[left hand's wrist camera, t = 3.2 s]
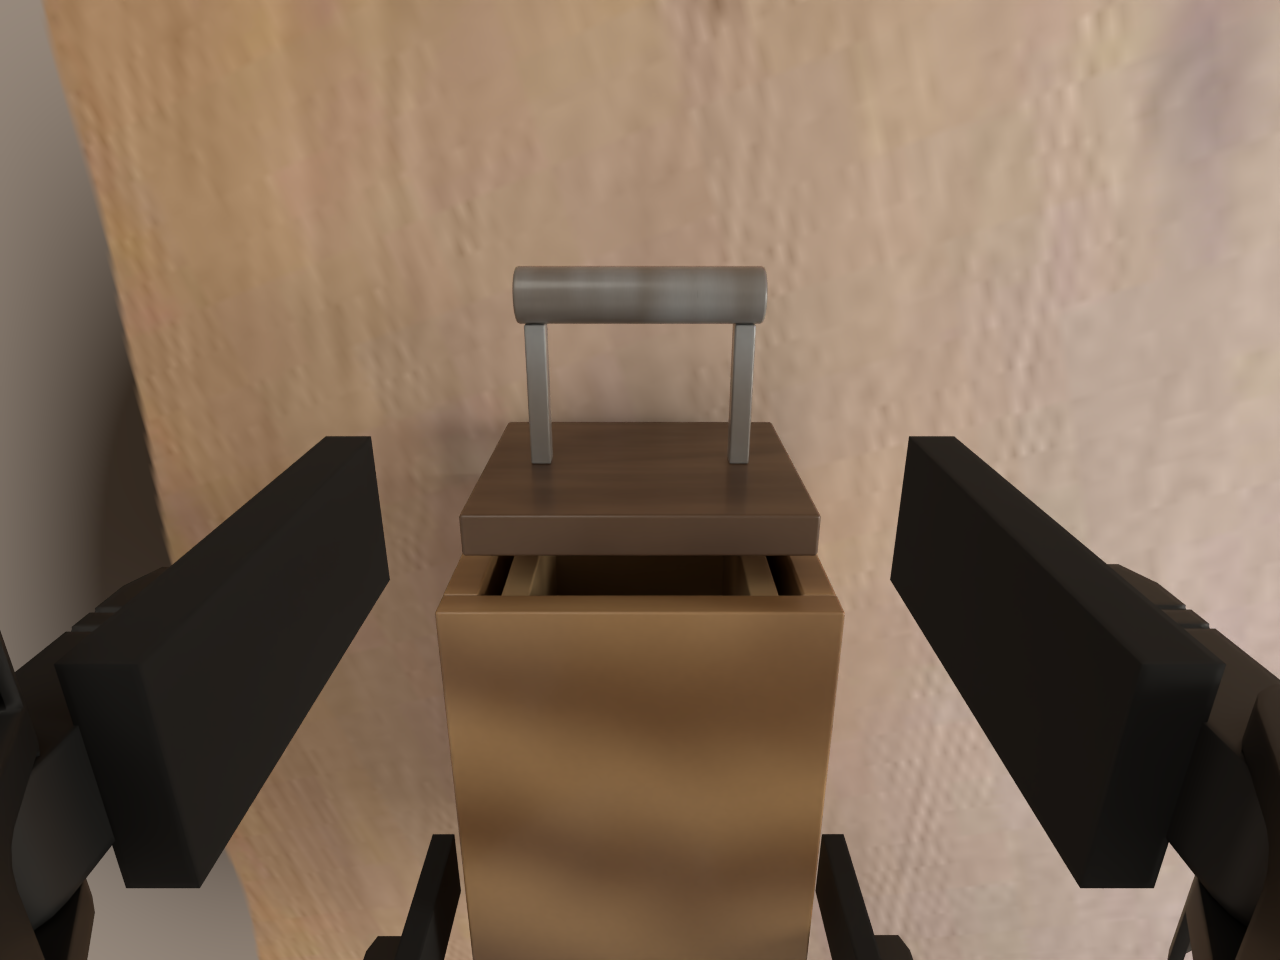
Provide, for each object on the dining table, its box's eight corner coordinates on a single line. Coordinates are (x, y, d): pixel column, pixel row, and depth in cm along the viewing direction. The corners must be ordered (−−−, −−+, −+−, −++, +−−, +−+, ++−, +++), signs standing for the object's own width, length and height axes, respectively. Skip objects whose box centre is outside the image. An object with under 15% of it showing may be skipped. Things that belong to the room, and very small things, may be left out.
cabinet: (500, 472, 30) (434, 612, 20) (779, 472, 30) (845, 612, 20) (523, 804, 35) (480, 1034, 26) (756, 804, 35) (799, 1034, 26)
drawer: (497, 252, 26) (436, 286, 18) (782, 252, 26) (843, 286, 18) (529, 756, 33) (496, 930, 26) (750, 756, 33) (783, 930, 26)
